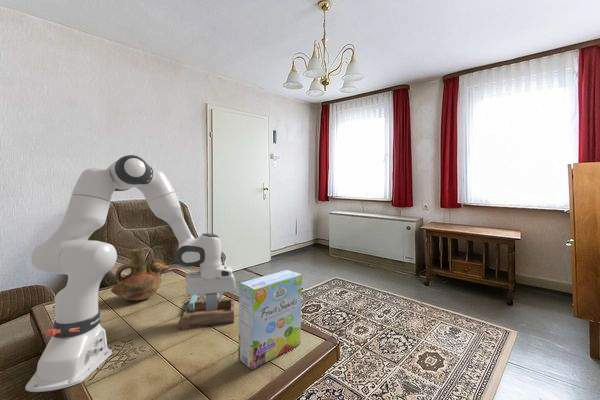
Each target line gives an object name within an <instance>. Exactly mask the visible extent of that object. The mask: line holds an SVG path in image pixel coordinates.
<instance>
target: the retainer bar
mask: <svg viewBox="0 0 600 400" xmlns="http://www.w3.org/2000/svg"><path fill="white" fill-rule="evenodd" d="M190 298H191V300H190V299H189V300H190V303H189V311H191V310H193V309H194V303H195V302H196V301H197V299H198V295H191V297H190Z"/></svg>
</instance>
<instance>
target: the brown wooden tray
mask: <svg viewBox="0 0 600 400" xmlns="http://www.w3.org/2000/svg"><path fill="white" fill-rule="evenodd" d="M191 298H192V297H190V298H189V301H188V303H187V305H186V308H185V309H184V310H185V311H184V313H183V315H182V317H181V320H180V322H179V324H178V330H184V331H185V330H189V329H191V328H195V327H205V326H216V325H225V324H234V323H235V298H226V299H221V302H220V303H218V306H217V310H214V311H206V304H203V301H202V300H200V299H201V298H200V297H198V298H197V301H196V302H195V303H194V309H193V310H191V311H189V303H190V300H191Z"/></svg>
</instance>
